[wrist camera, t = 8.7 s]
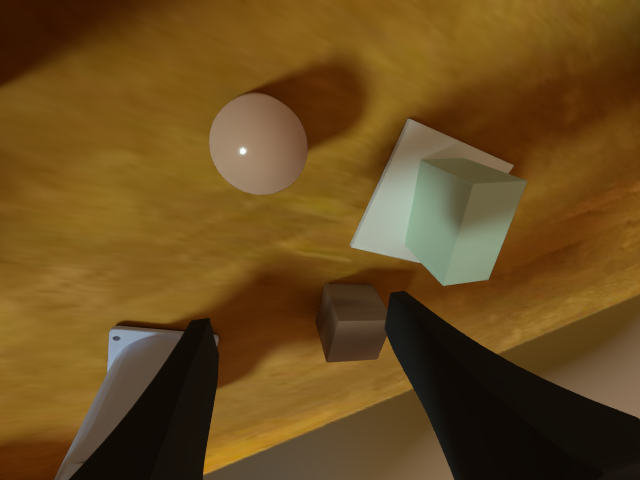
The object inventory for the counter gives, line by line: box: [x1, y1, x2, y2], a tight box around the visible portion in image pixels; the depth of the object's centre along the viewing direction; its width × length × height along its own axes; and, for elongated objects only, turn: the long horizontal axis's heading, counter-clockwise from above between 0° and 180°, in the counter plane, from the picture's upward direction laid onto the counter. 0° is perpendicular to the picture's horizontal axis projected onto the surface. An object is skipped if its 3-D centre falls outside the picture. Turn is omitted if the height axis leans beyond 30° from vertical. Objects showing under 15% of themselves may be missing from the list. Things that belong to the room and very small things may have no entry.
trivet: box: [350, 119, 514, 263], centre depth 22 cm, size 10×10×1 cm
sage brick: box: [404, 158, 527, 286], centre depth 19 cm, size 7×4×6 cm, turn 179°
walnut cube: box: [316, 284, 387, 362], centre depth 24 cm, size 4×4×4 cm
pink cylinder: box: [209, 92, 308, 195], centre depth 15 cm, size 4×4×5 cm
